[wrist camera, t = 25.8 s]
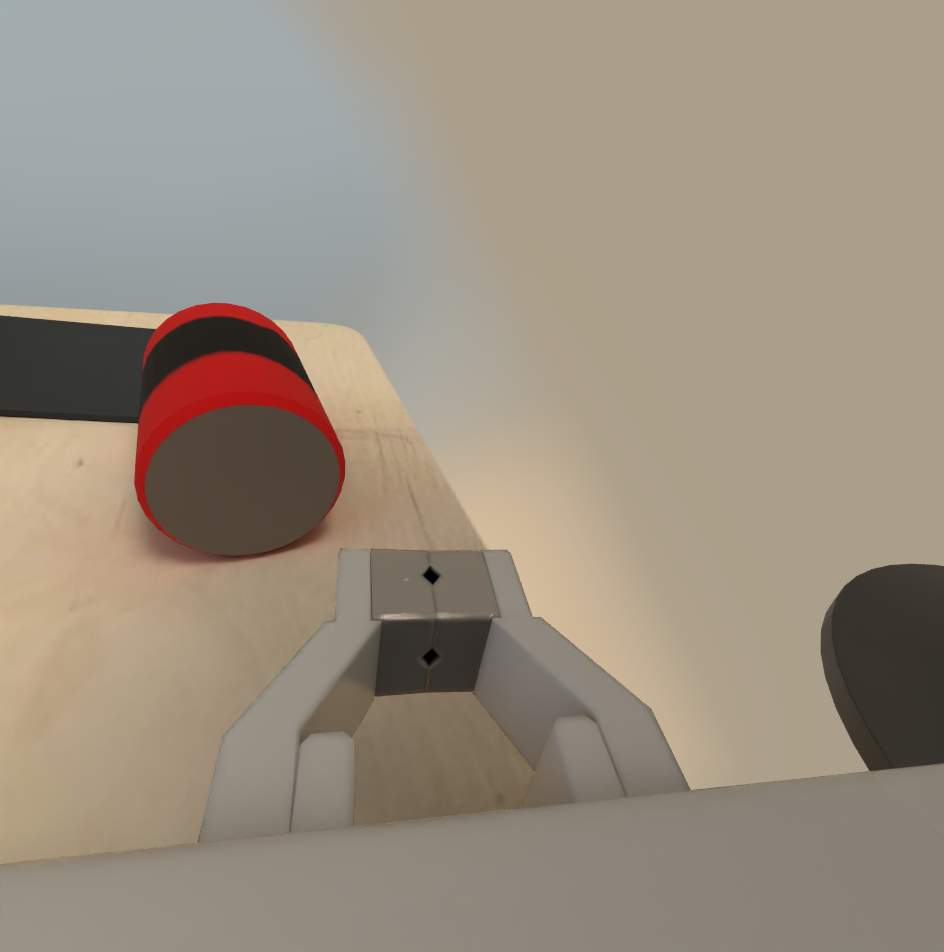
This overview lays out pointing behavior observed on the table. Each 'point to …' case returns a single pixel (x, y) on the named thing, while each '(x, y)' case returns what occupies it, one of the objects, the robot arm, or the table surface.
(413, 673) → the robot arm
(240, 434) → the soda can
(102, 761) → the table surface
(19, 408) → the mat
